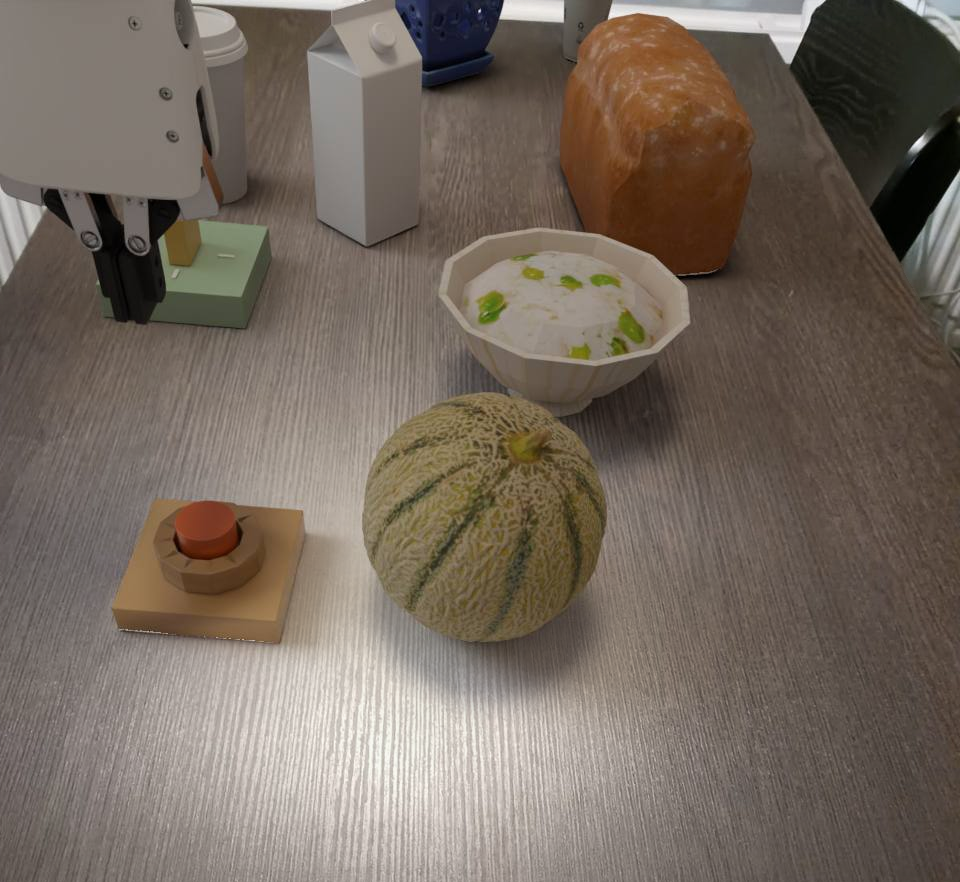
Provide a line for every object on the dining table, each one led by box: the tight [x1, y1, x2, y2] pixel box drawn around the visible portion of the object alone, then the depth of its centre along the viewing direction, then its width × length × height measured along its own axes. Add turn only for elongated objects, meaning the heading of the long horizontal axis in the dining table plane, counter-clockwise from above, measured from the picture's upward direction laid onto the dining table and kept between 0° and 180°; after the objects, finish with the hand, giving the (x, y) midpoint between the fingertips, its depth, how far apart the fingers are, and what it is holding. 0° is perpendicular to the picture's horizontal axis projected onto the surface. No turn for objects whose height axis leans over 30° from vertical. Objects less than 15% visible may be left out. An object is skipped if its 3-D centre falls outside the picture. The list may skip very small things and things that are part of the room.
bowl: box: [437, 226, 691, 418], centre depth 76 cm, size 19×19×10 cm
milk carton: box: [306, 0, 423, 247], centre depth 88 cm, size 7×7×19 cm
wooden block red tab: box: [164, 219, 202, 266], centre depth 82 cm, size 4×2×4 cm, turn 177°
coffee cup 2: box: [562, 0, 614, 61], centre depth 123 cm, size 7×7×10 cm
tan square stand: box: [111, 497, 306, 644], centre depth 62 cm, size 10×10×4 cm
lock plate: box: [95, 219, 272, 330], centre depth 85 cm, size 12×12×3 cm
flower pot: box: [364, 0, 505, 88], centre depth 116 cm, size 13×13×12 cm
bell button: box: [175, 500, 238, 560], centre depth 60 cm, size 4×4×2 cm
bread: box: [558, 12, 757, 275], centre depth 94 cm, size 14×26×16 cm, turn 7°
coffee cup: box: [192, 5, 249, 205], centre depth 92 cm, size 10×10×15 cm
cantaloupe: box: [361, 391, 608, 643], centre depth 58 cm, size 15×15×15 cm
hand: (138, 309), depth 53 cm, fingers closed
